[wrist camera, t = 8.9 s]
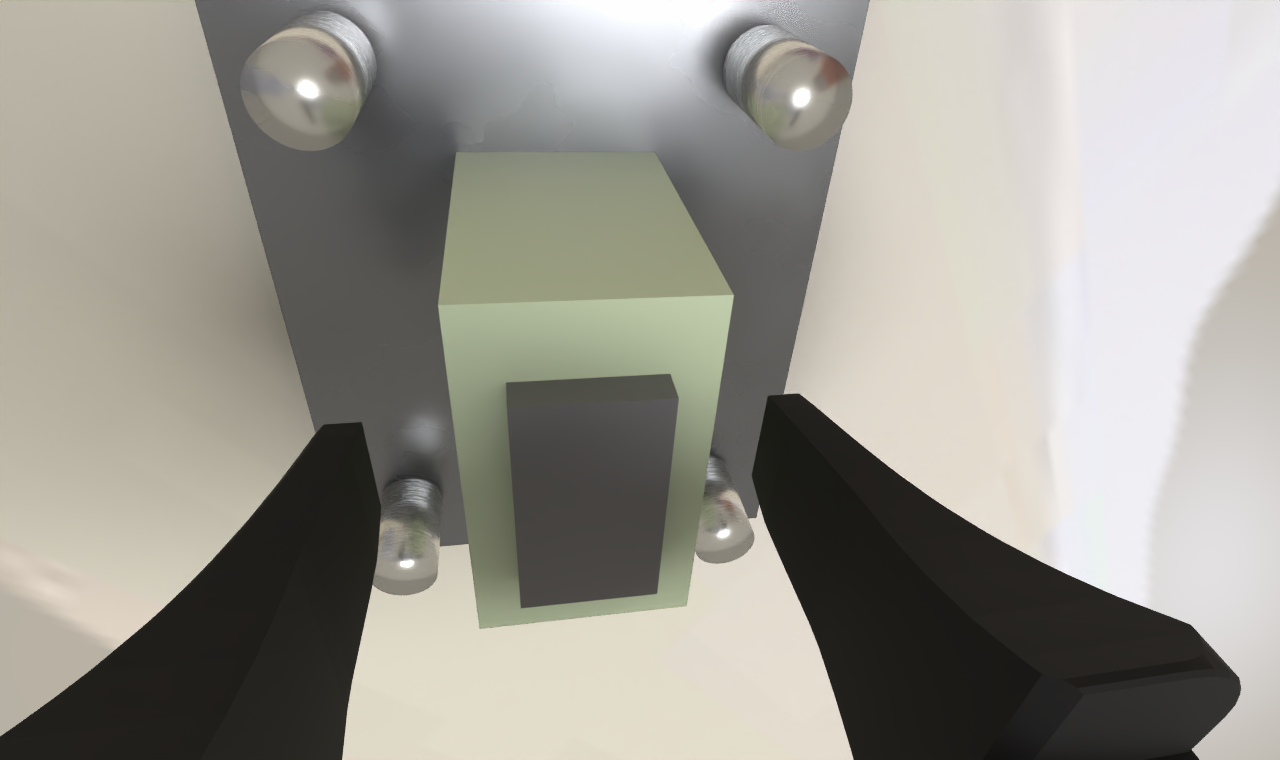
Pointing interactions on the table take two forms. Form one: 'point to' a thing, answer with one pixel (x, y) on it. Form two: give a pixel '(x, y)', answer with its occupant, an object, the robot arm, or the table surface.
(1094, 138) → the table surface
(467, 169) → the block
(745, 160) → the chassis
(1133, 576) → the table surface
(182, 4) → the table surface
